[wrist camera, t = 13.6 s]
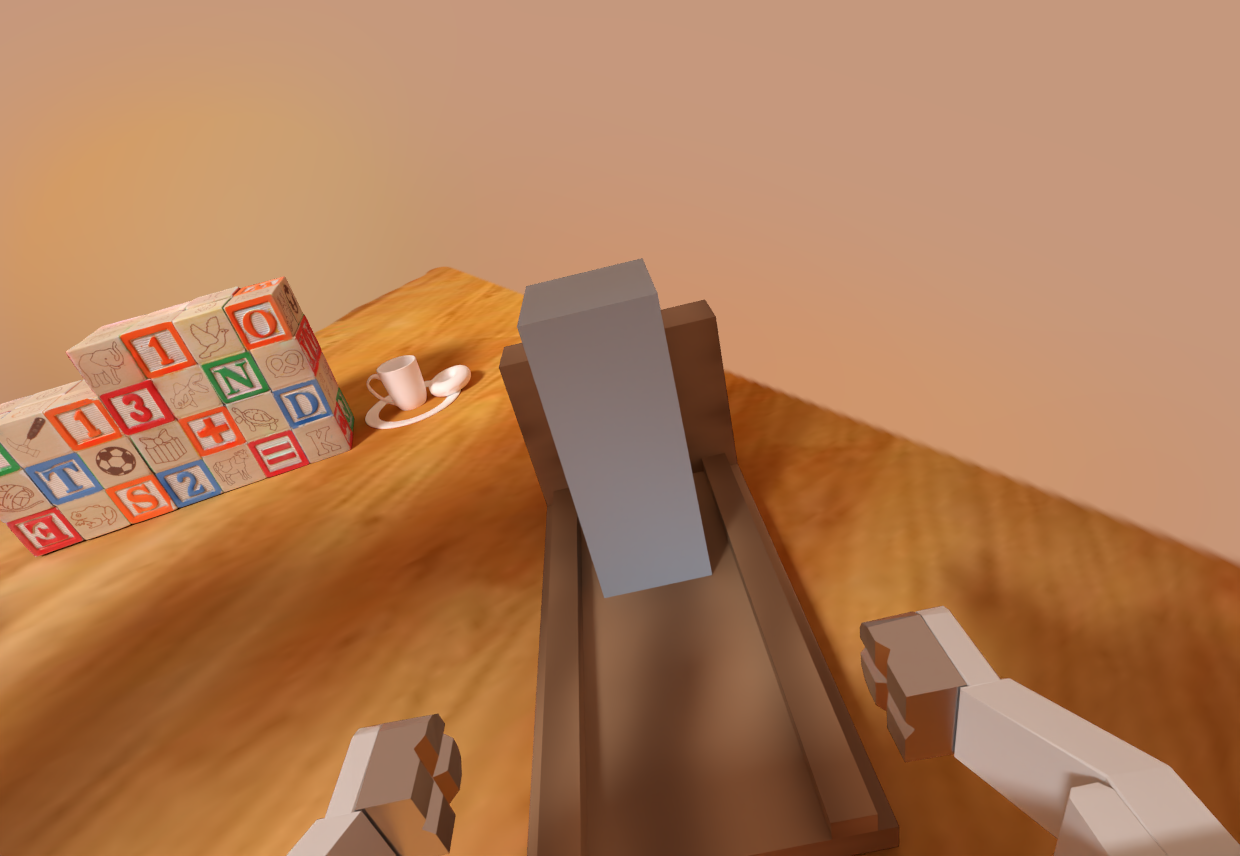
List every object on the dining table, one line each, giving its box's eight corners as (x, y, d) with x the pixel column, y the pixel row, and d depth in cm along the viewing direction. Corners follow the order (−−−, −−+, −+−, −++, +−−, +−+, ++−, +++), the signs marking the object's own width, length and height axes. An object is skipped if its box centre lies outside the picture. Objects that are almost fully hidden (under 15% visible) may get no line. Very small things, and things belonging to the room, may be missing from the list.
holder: (535, 915, 17) (408, 712, 12) (553, 493, 34) (504, 347, 30) (898, 846, 16) (902, 609, 12) (728, 454, 34) (704, 299, 29)
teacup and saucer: (483, 376, 53) (467, 333, 51) (455, 423, 46) (435, 375, 44) (391, 393, 54) (372, 351, 52) (350, 440, 47) (327, 394, 45)
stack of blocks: (33, 562, 41) (-115, 402, 35) (74, 513, 46) (-48, 367, 40) (353, 449, 45) (271, 289, 39) (356, 416, 50) (284, 271, 44)
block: (604, 598, 25) (517, 326, 19) (599, 529, 29) (526, 286, 23) (712, 575, 25) (657, 293, 19) (692, 508, 29) (642, 258, 23)
